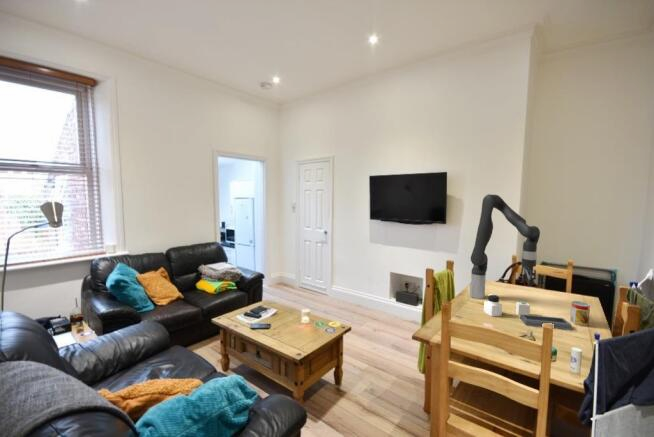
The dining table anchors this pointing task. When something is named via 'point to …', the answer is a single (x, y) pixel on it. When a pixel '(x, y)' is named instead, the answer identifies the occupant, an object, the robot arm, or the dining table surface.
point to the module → (522, 308)
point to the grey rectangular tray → (545, 321)
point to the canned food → (580, 313)
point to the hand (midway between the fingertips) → (527, 283)
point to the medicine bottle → (493, 306)
